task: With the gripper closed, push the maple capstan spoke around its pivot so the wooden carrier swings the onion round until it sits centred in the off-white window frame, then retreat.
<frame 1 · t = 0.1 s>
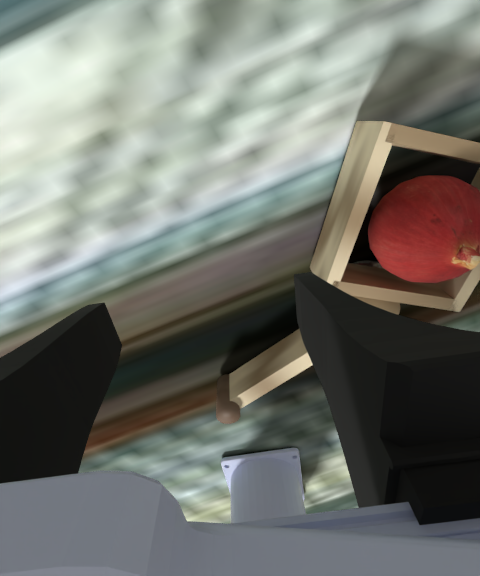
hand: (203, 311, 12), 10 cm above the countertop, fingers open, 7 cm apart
onion: (392, 212, 21), resting in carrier
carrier: (339, 304, 21), point 2 cm above the countertop, hinge at 0.0°
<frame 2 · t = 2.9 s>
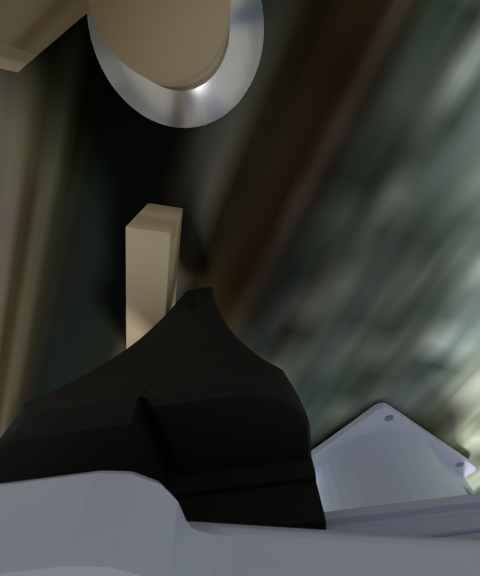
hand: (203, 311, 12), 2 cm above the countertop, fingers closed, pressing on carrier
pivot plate: (178, 32, 9), on the countertop
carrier: (92, 76, 8), point 2 cm above the countertop, hinge at -0.2°, touching gripper
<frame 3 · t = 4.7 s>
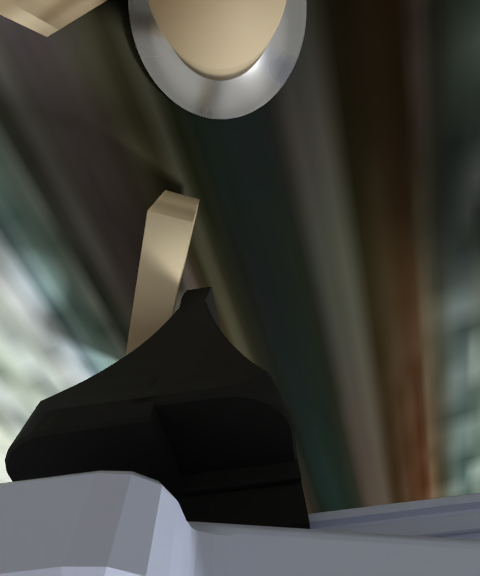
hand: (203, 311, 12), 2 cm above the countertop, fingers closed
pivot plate: (218, 21, 9), on the countertop
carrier: (131, 51, 7), point 2 cm above the countertop, hinge at -48.2°, touching gripper, onion
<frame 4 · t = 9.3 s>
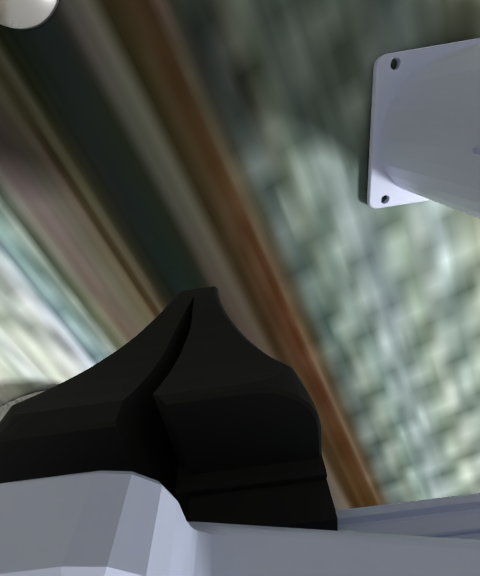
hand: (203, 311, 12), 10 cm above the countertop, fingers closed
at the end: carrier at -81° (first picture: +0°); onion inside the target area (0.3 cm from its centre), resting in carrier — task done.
